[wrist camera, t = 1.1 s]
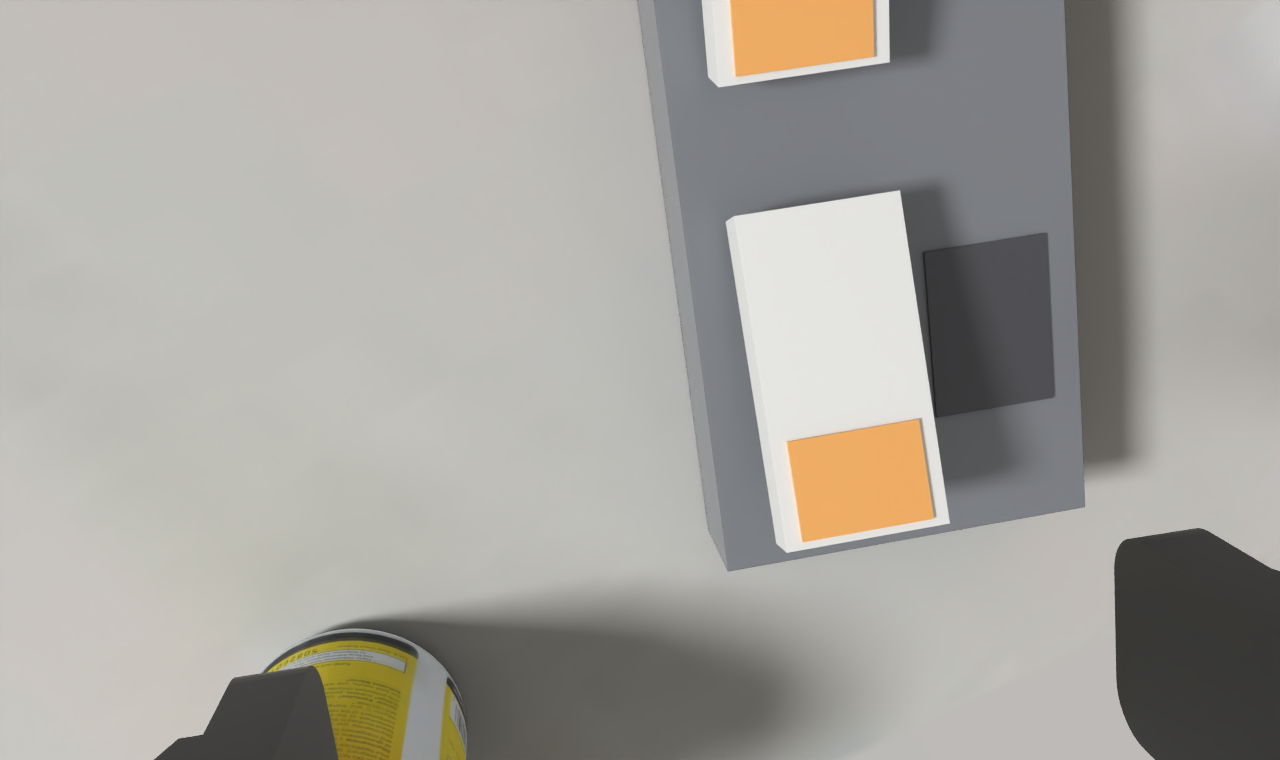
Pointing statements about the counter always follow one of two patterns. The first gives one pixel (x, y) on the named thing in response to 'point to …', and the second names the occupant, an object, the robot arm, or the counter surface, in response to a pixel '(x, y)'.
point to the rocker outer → (838, 370)
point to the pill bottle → (383, 696)
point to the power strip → (936, 233)
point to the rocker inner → (792, 37)
